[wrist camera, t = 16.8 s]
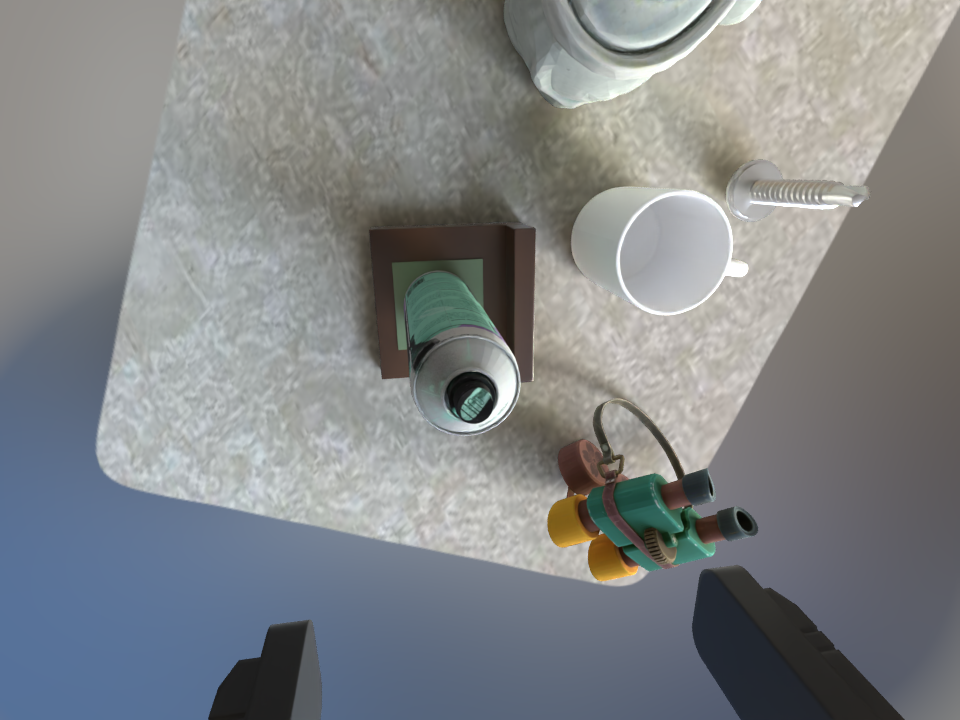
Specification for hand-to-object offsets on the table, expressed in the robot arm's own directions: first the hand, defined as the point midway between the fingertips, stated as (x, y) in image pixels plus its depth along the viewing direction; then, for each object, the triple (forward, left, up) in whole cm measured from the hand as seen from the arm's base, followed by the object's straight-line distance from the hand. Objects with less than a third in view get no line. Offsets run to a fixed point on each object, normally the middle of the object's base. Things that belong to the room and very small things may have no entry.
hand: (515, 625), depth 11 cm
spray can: (+1, -1, -33) cm, 33 cm away
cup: (+18, +3, -36) cm, 40 cm away
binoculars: (+16, -18, -36) cm, 43 cm away
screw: (+27, +7, -36) cm, 45 cm away
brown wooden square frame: (+2, -1, -35) cm, 35 cm away
